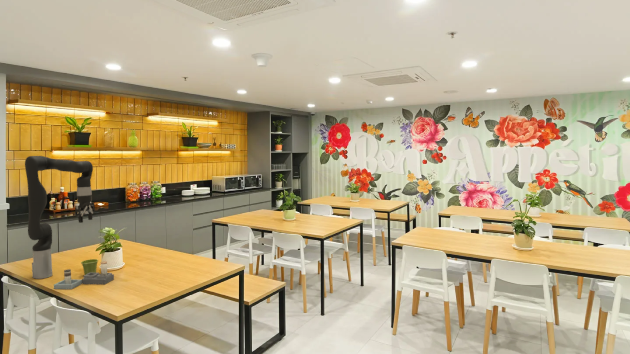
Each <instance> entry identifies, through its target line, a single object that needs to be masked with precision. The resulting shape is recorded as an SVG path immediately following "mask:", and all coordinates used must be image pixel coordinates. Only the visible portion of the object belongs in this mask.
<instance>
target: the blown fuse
mask: <svg viewBox="0 0 630 354" xmlns="http://www.w3.org/2000/svg"><path fill="white" fill-rule="evenodd" d="M63 273H64V275H63V276H64V279H65V284H72V283H71V279H72V270H71V269H70V268H69V269H68V268H67V269H64V270H63Z"/></svg>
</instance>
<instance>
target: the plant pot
mask: <svg viewBox="0 0 630 354" xmlns="http://www.w3.org/2000/svg"><path fill="white" fill-rule="evenodd" d="M98 262H99V259H98V258H93V259H92V258H90V259H85V260H82V261H81V263H80V264H81V266H82V268H83V274H84V275H86V274H88V273H97V268H98Z"/></svg>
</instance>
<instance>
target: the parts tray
mask: <svg viewBox="0 0 630 354" xmlns="http://www.w3.org/2000/svg"><path fill="white" fill-rule="evenodd" d="M71 283H72V284H65V278H64V279H63V280H61V281H57V283H54V284H53V290H73V289H75V288H77V287H79V286H81V285H83V284H82V279H72V278H71Z"/></svg>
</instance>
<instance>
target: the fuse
mask: <svg viewBox="0 0 630 354" xmlns="http://www.w3.org/2000/svg"><path fill="white" fill-rule="evenodd" d="M107 273H108V261H106V260H105V261H101V262H100V274H101V276H106V275H107Z"/></svg>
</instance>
